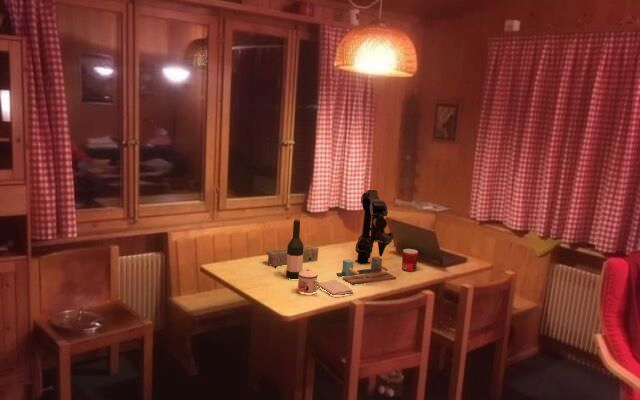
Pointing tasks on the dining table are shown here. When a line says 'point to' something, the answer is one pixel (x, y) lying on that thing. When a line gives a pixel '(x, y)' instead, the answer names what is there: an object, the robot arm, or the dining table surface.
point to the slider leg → (349, 267)
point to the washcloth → (336, 287)
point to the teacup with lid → (308, 281)
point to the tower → (280, 255)
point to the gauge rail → (375, 267)
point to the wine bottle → (295, 253)
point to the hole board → (369, 278)
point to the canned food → (409, 260)
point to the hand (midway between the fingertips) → (374, 257)
